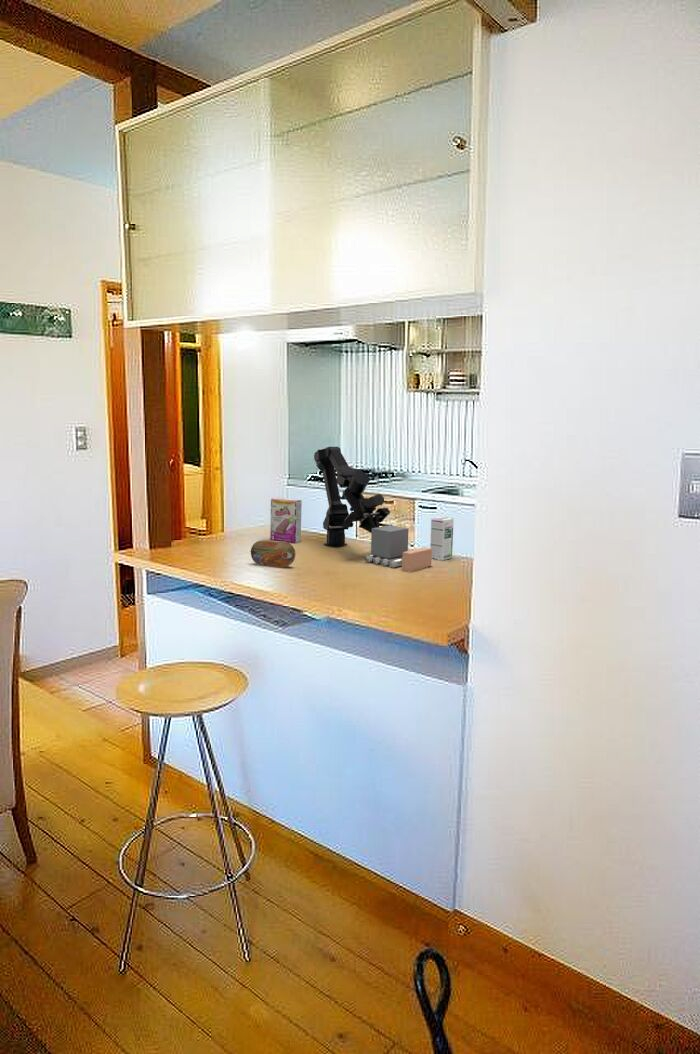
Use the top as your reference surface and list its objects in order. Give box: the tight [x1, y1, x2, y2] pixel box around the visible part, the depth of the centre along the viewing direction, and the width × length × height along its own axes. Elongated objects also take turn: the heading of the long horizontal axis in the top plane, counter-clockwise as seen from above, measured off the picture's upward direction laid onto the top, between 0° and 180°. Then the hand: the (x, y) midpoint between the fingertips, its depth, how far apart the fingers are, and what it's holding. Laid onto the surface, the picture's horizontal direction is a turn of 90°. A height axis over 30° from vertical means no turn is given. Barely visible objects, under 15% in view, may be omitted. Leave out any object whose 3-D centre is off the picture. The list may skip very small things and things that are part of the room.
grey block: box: [370, 524, 410, 558], centre depth 239 cm, size 8×10×9 cm
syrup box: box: [429, 516, 454, 561], centre depth 248 cm, size 6×6×14 cm
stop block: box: [401, 547, 433, 573], centre depth 232 cm, size 3×12×6 cm, turn 138°
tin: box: [250, 539, 296, 568], centre depth 230 cm, size 15×3×8 cm, turn 73°
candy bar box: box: [269, 497, 303, 544], centre depth 270 cm, size 11×5×16 cm, turn 68°
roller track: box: [364, 554, 403, 569], centre depth 240 cm, size 13×12×2 cm
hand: (379, 536), depth 242 cm, fingers closed, pressing on grey block
